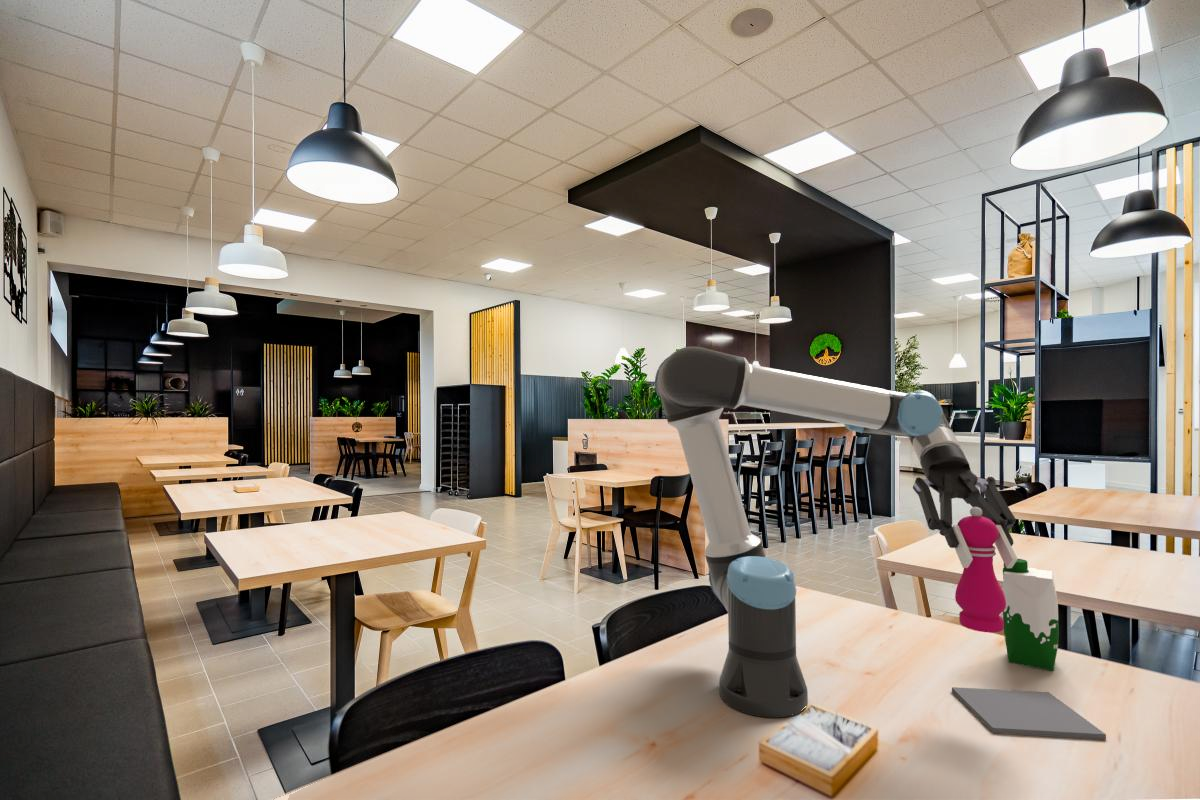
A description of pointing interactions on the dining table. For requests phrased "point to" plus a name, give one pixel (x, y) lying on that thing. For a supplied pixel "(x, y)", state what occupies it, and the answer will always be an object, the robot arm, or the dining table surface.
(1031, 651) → the milk carton
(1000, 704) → the rubber mat
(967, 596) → the pepper mill
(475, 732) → the dining table surface
